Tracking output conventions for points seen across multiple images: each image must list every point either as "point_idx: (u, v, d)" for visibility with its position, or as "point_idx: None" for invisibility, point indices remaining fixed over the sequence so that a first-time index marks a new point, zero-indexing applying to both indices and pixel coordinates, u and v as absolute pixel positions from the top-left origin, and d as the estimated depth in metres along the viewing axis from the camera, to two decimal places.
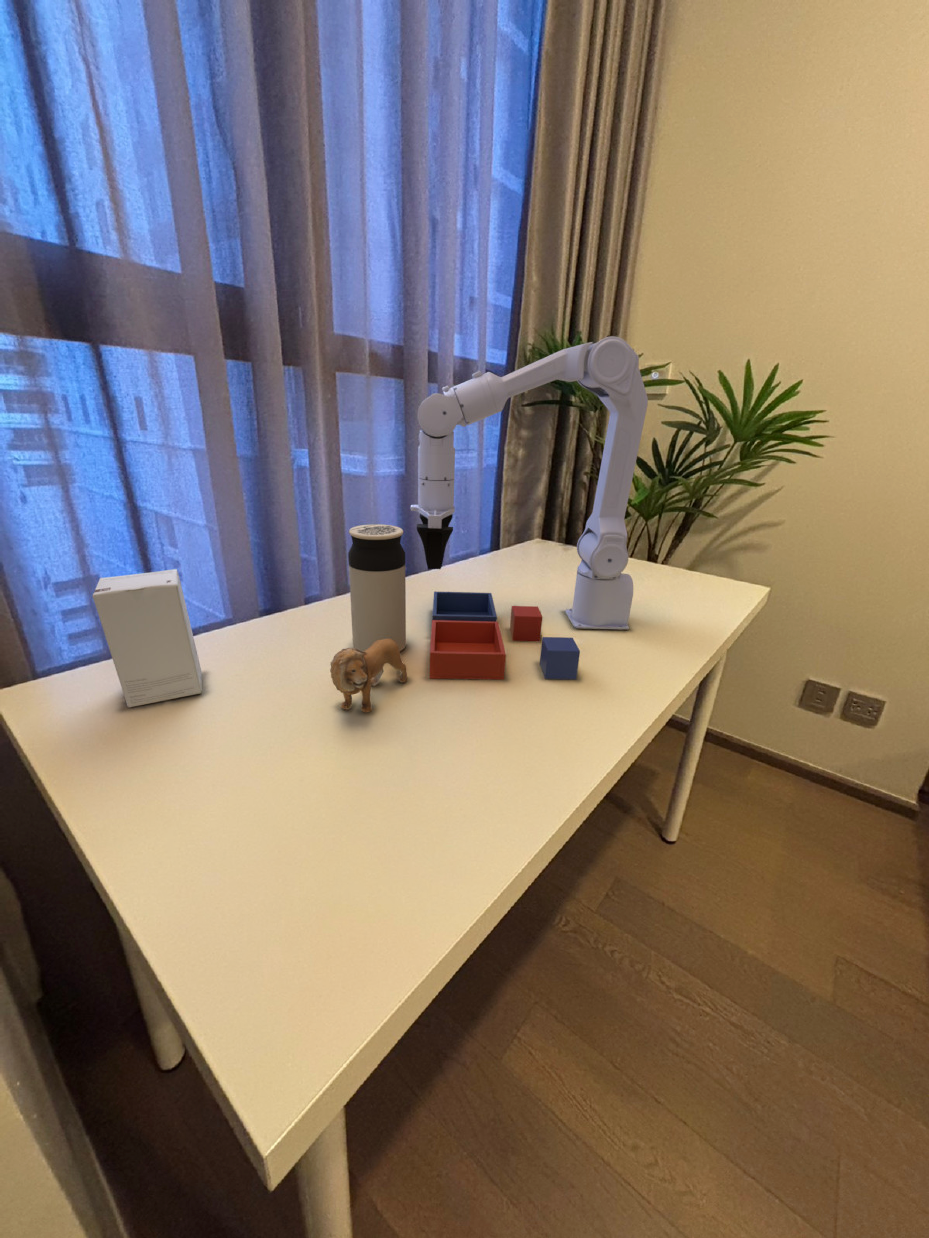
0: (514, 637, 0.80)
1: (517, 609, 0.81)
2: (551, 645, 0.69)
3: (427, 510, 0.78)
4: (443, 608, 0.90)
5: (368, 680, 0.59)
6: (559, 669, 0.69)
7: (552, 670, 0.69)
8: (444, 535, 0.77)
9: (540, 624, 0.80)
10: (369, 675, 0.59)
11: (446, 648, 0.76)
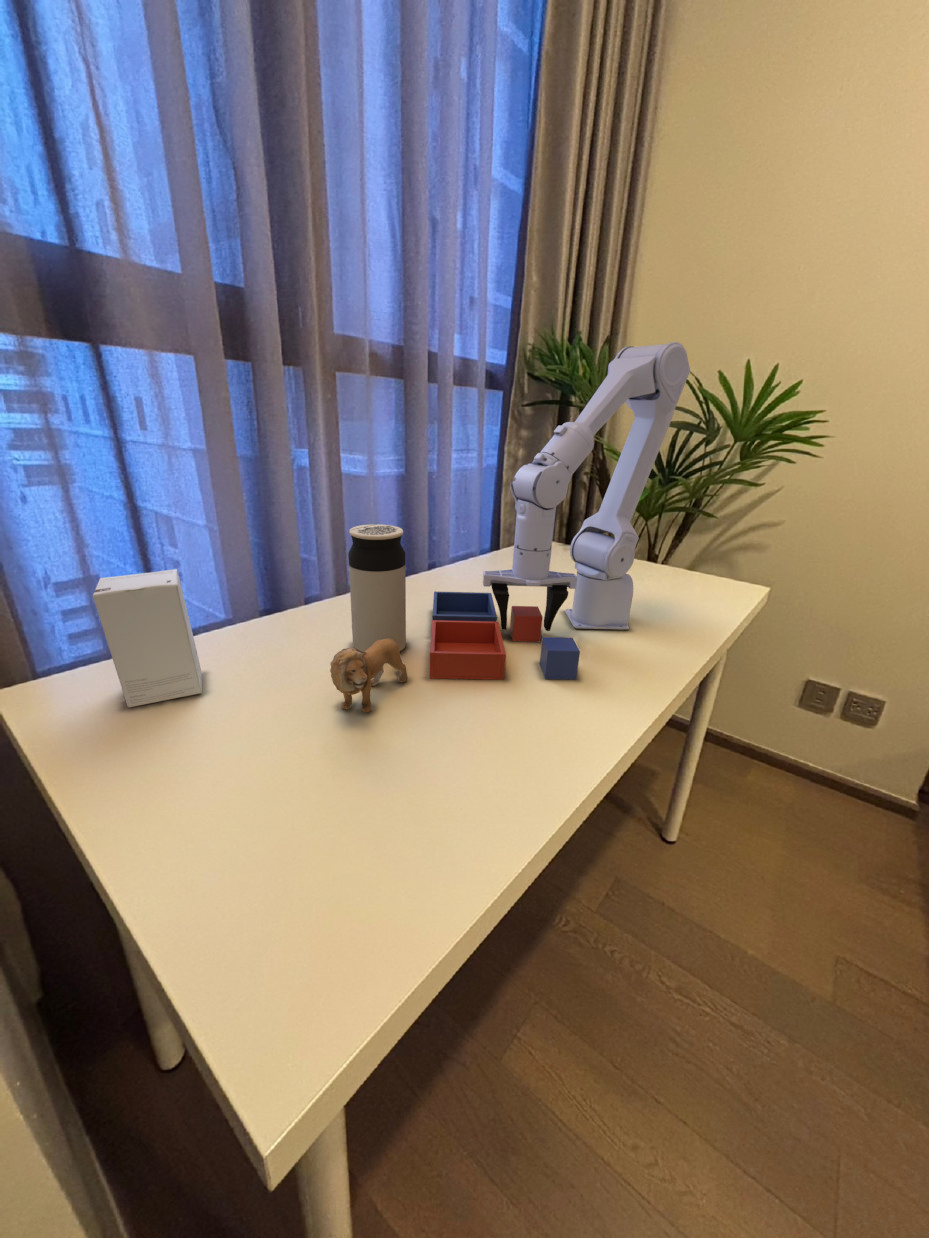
0: (514, 637, 0.80)
1: (517, 609, 0.81)
2: (551, 645, 0.69)
3: (549, 577, 0.78)
4: (443, 608, 0.90)
5: (368, 680, 0.59)
6: (559, 669, 0.69)
7: (552, 670, 0.69)
8: None
9: (540, 624, 0.80)
10: (369, 675, 0.59)
11: (446, 648, 0.76)
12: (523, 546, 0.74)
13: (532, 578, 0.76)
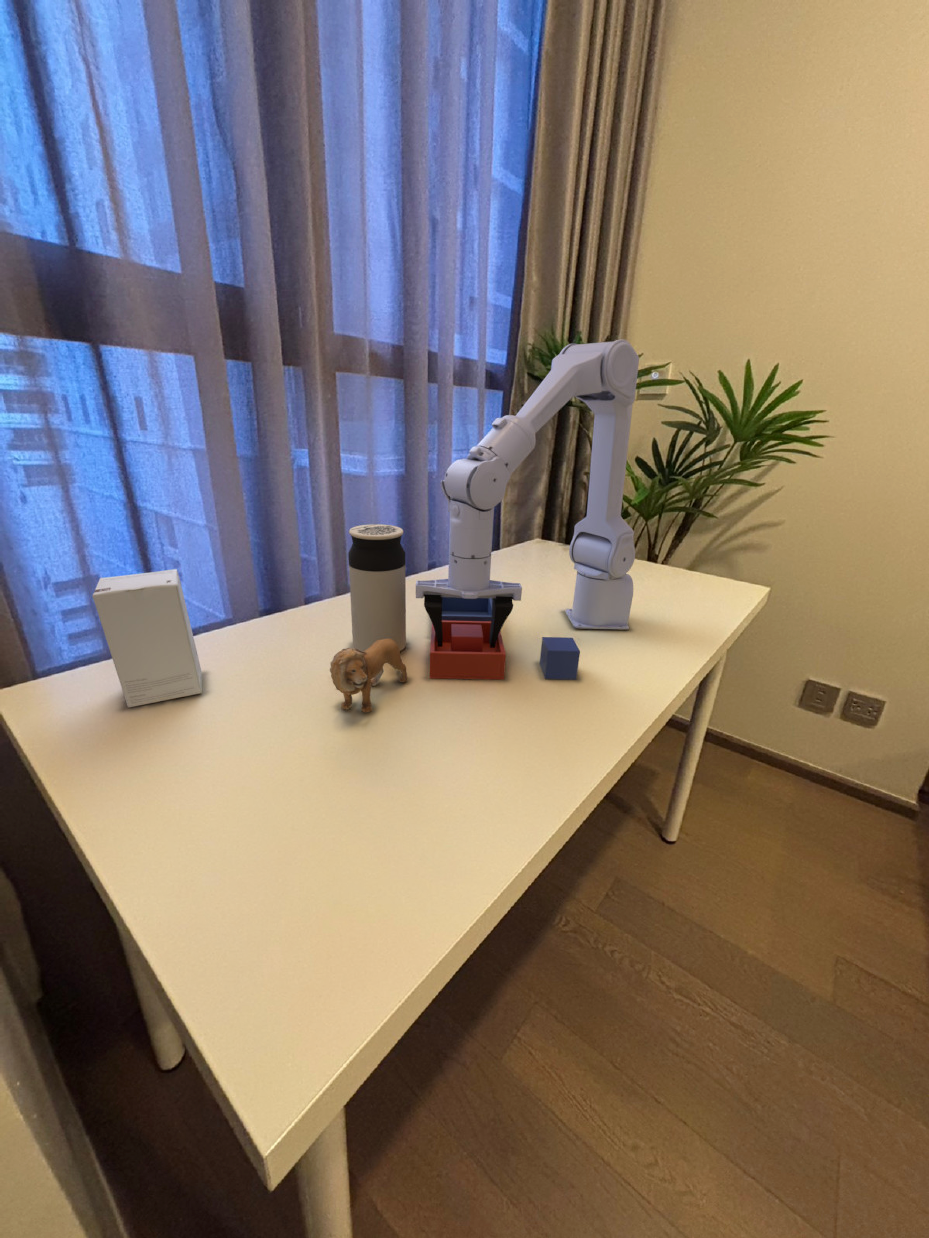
0: None
1: (456, 628, 0.72)
2: (551, 645, 0.69)
3: (489, 588, 0.68)
4: (443, 608, 0.90)
5: (368, 680, 0.59)
6: (559, 669, 0.69)
7: (552, 670, 0.69)
8: None
9: (481, 645, 0.71)
10: (369, 675, 0.59)
11: (446, 648, 0.76)
12: (459, 553, 0.65)
13: (468, 589, 0.67)
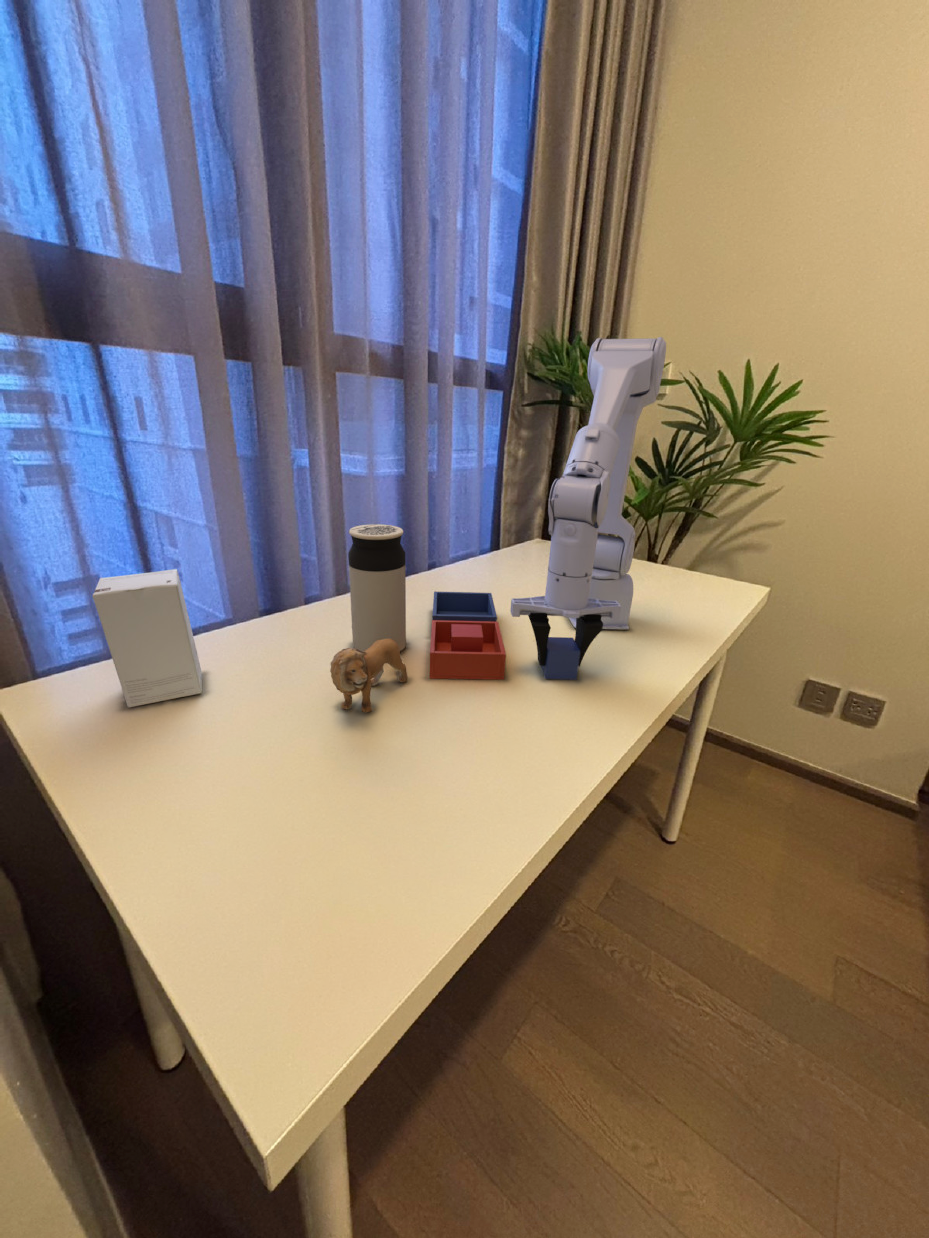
0: None
1: (456, 628, 0.72)
2: (552, 645, 0.69)
3: (588, 607, 0.67)
4: (443, 608, 0.90)
5: (368, 680, 0.59)
6: (560, 669, 0.69)
7: (552, 670, 0.69)
8: None
9: (481, 645, 0.71)
10: (369, 675, 0.59)
11: (446, 648, 0.76)
12: (573, 573, 0.63)
13: (570, 608, 0.65)
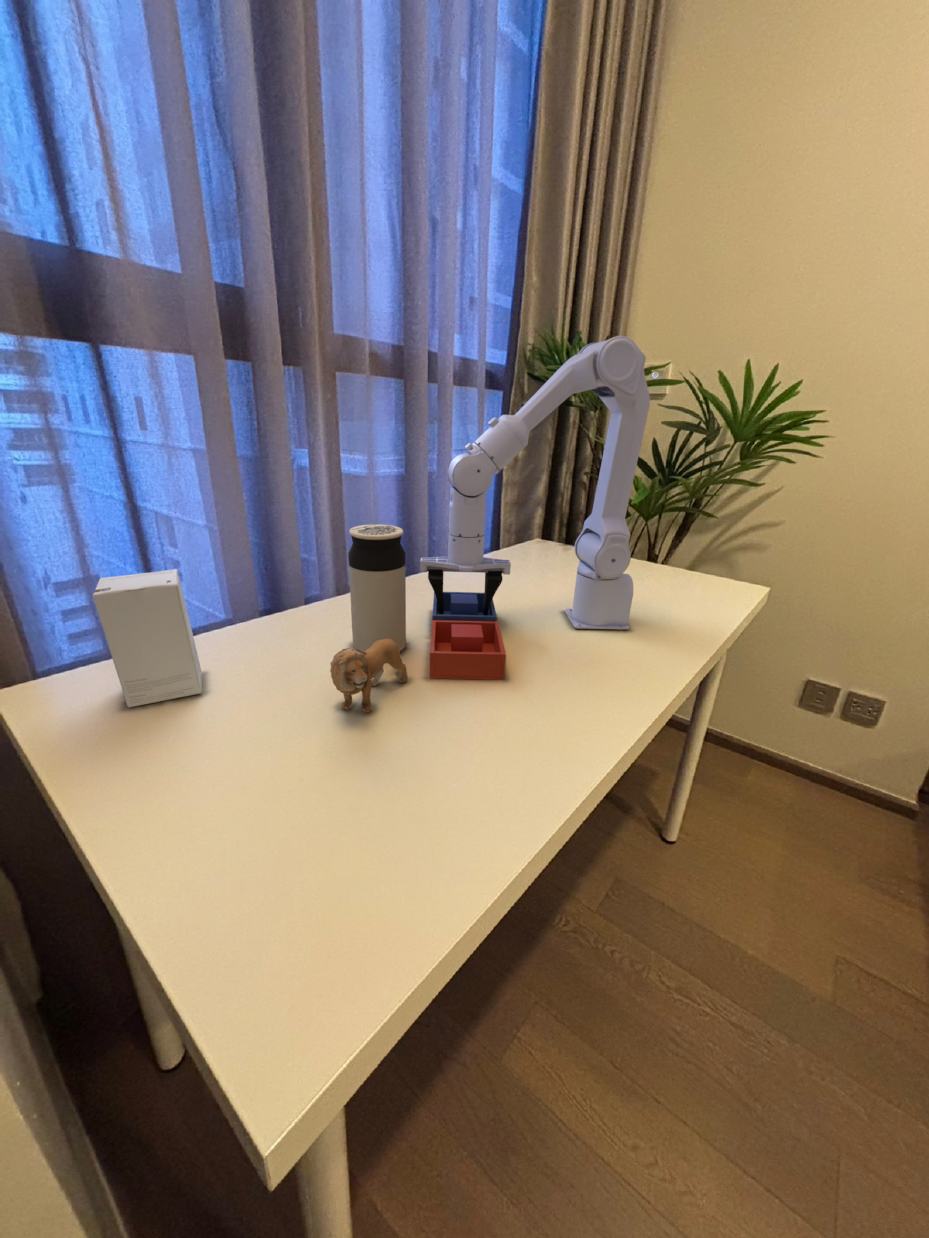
0: None
1: (456, 628, 0.72)
2: (455, 599, 0.83)
3: (482, 563, 0.81)
4: None
5: (368, 680, 0.59)
6: None
7: None
8: None
9: (481, 645, 0.71)
10: (369, 675, 0.59)
11: (446, 648, 0.76)
12: (451, 531, 0.78)
13: (465, 564, 0.79)
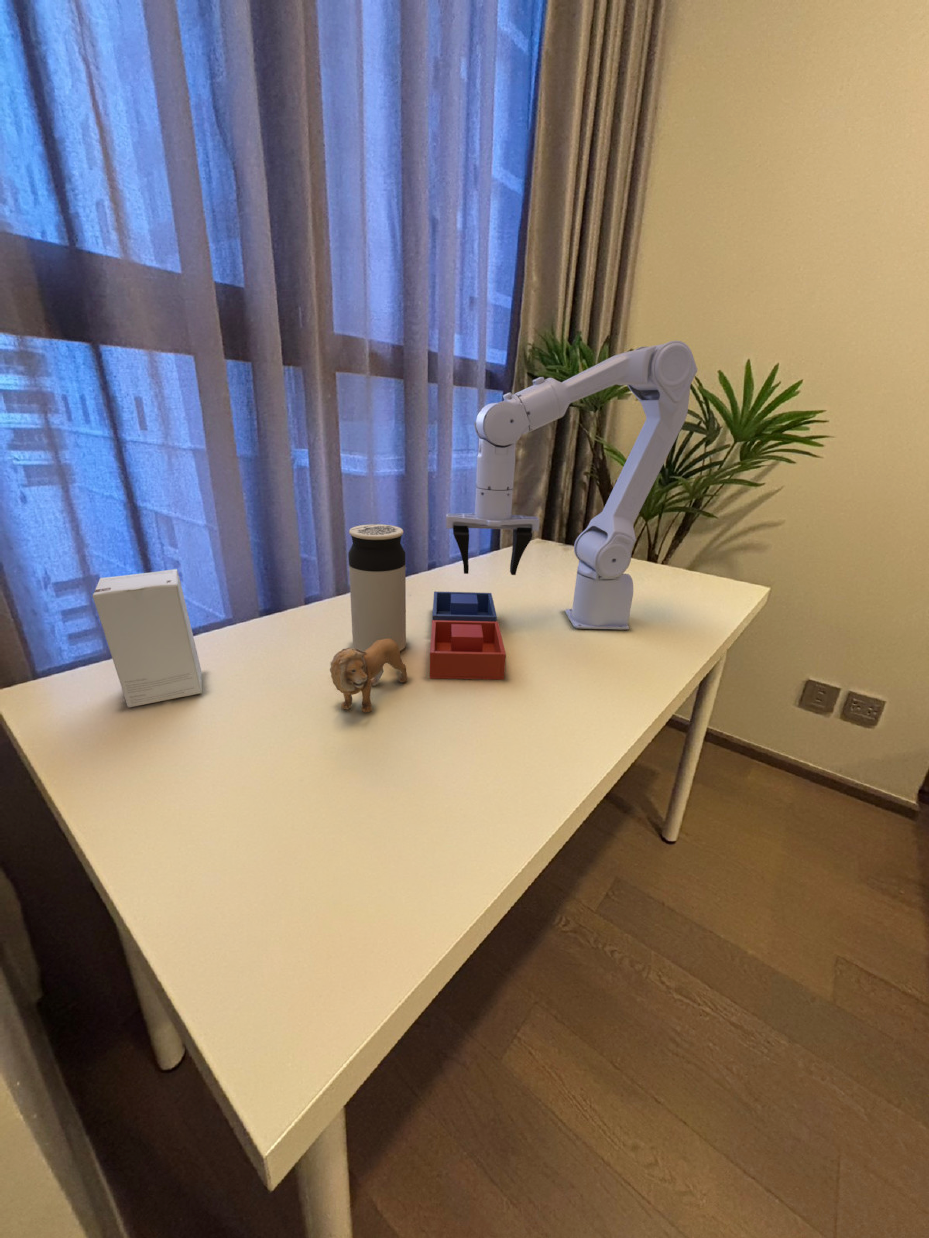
0: None
1: (456, 628, 0.72)
2: (455, 599, 0.83)
3: (511, 519, 0.78)
4: (443, 608, 0.90)
5: (368, 680, 0.59)
6: None
7: None
8: None
9: (481, 645, 0.71)
10: (369, 675, 0.59)
11: (446, 648, 0.76)
12: (479, 485, 0.75)
13: (493, 518, 0.76)
